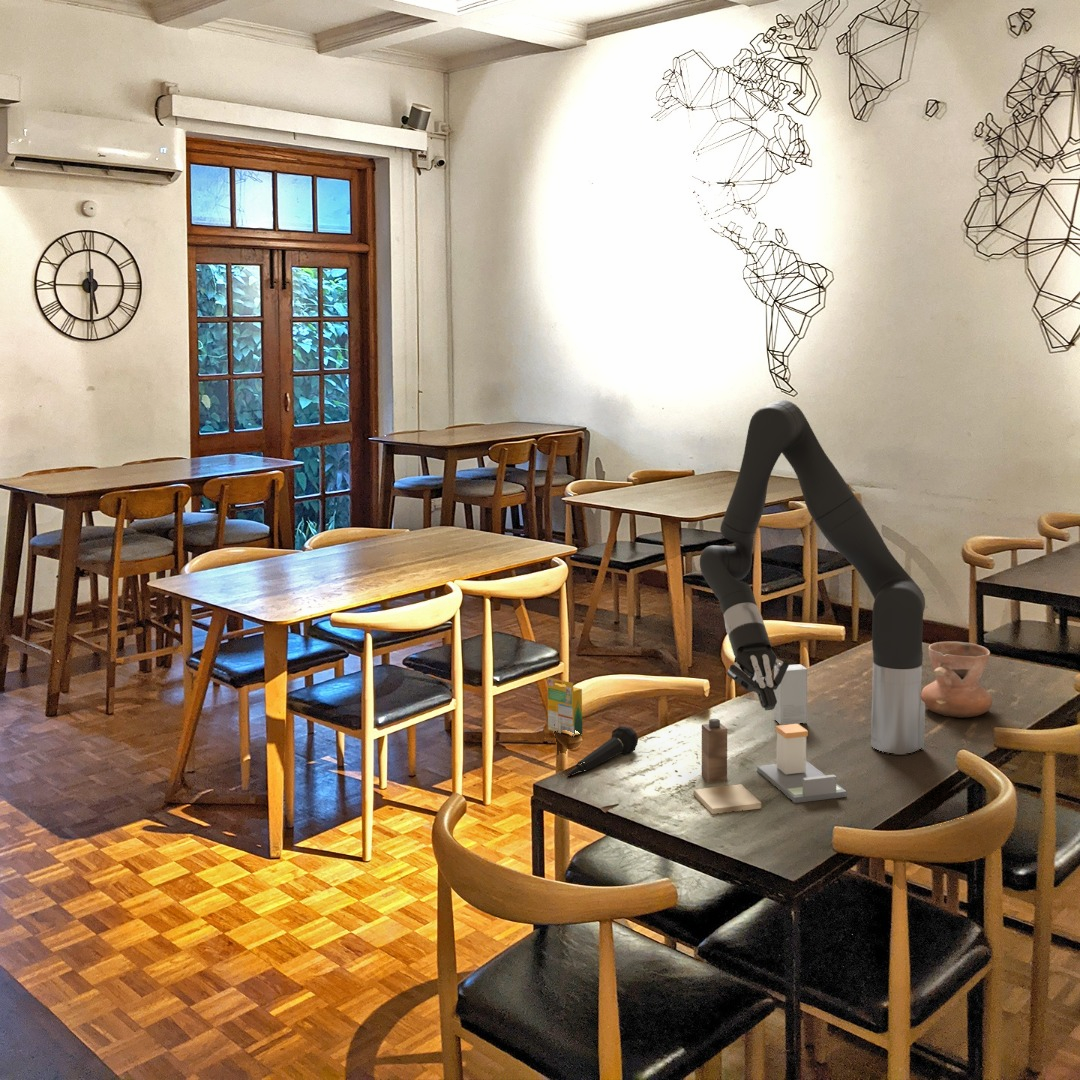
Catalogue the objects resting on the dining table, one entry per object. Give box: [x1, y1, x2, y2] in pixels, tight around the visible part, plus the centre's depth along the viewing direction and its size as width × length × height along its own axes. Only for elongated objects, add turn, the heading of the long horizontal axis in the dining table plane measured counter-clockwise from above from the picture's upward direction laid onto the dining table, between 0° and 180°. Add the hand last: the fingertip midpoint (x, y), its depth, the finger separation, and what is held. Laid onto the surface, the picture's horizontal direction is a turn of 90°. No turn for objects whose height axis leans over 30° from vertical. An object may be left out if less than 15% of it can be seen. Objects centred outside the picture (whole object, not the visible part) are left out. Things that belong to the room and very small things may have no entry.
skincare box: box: [773, 663, 808, 725], centre depth 249 cm, size 6×4×12 cm
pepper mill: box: [701, 718, 728, 783], centre depth 219 cm, size 4×4×11 cm
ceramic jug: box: [921, 641, 993, 718], centre depth 253 cm, size 18×14×14 cm
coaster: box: [693, 783, 762, 815], centre depth 209 cm, size 9×9×1 cm
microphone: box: [566, 725, 639, 776], centre depth 229 cm, size 6×6×20 cm
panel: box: [756, 760, 848, 804], centre depth 216 cm, size 10×16×4 cm, turn 13°
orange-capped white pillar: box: [775, 724, 809, 774], centre depth 219 cm, size 4×4×8 cm
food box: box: [546, 676, 583, 738], centre depth 246 cm, size 7×3×12 cm, turn 48°
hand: (770, 708), depth 227 cm, fingers closed
